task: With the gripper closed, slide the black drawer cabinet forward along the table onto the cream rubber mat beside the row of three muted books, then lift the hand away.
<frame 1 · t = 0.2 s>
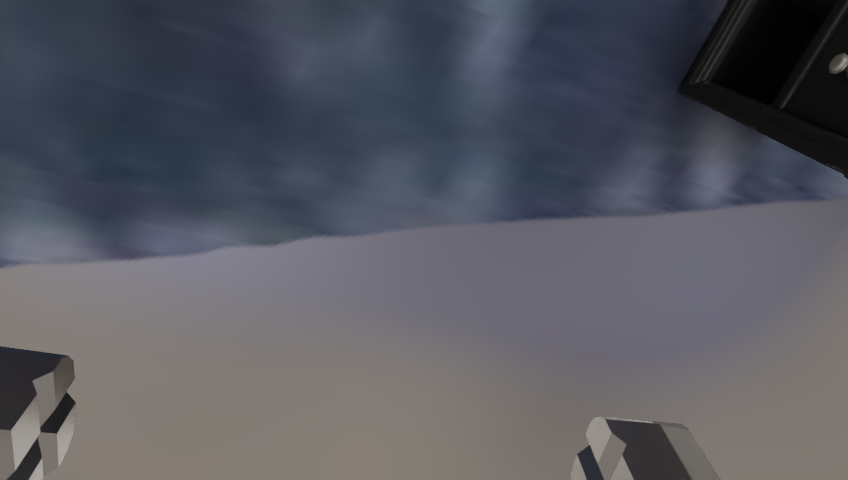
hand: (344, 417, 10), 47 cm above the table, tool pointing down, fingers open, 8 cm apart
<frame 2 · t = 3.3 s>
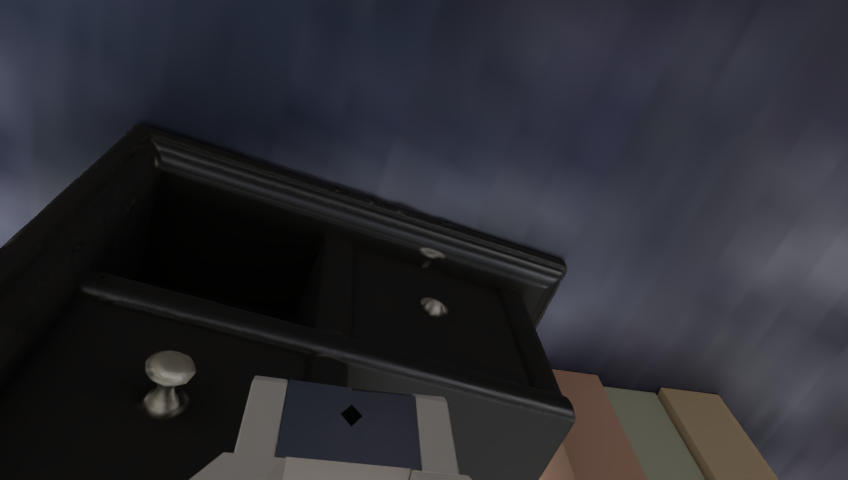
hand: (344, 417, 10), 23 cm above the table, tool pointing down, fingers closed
black drawer cabinet: (337, 276, 35), on the table, touching cream mat
book row: (600, 447, 42), on the table
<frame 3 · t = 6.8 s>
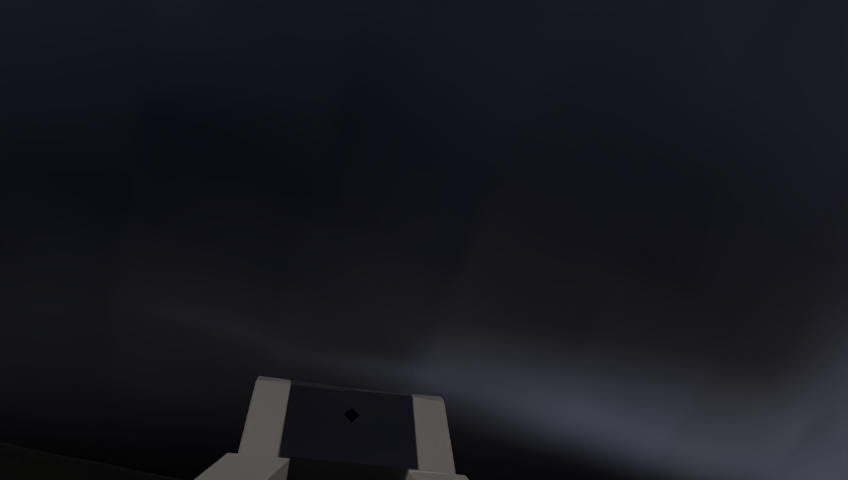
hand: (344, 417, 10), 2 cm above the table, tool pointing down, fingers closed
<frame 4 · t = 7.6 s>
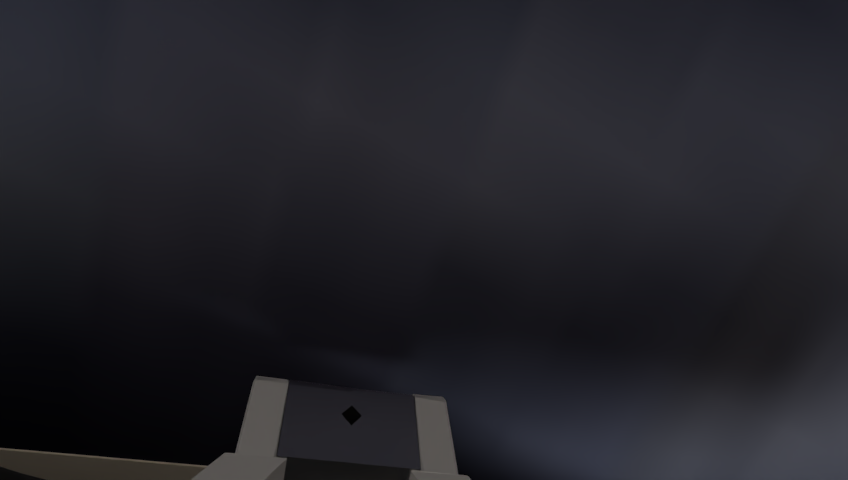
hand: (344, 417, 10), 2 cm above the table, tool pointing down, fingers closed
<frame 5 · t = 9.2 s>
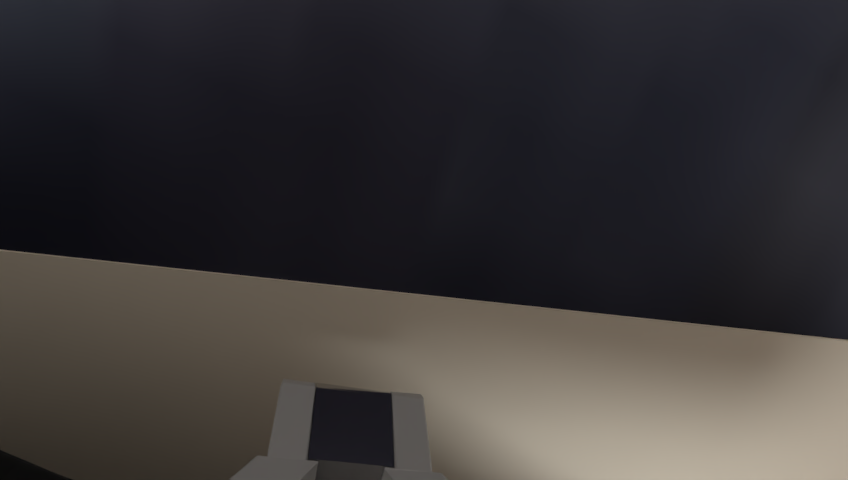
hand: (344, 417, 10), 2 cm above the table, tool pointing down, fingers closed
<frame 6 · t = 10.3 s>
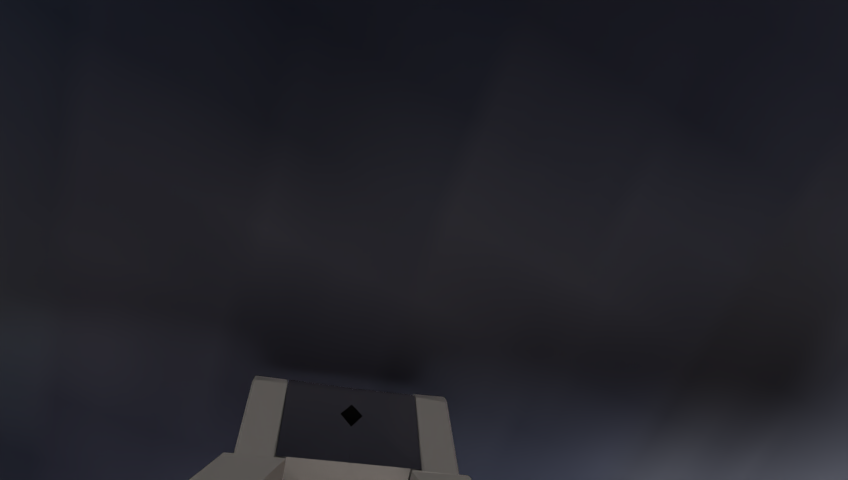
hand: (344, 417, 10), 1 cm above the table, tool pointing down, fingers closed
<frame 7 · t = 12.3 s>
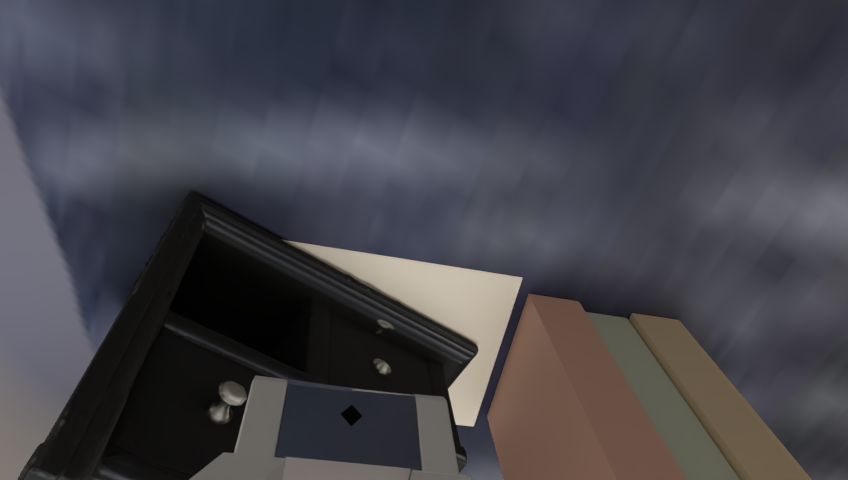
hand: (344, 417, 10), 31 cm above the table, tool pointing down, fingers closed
black drawer cabinet: (308, 325, 46), on the table, touching cream mat
book row: (581, 367, 50), on the table
cream mat: (340, 335, 46), on the table
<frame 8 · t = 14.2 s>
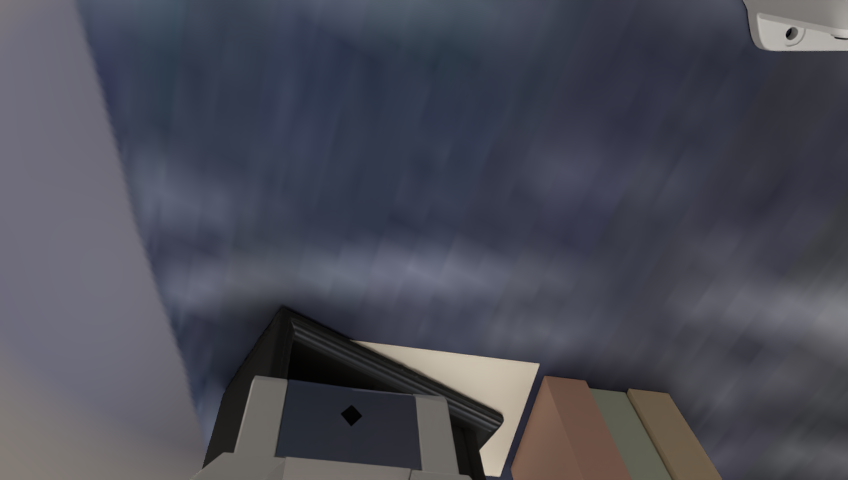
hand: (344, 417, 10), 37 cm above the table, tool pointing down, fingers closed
black drawer cabinet: (368, 401, 58), on the table, touching cream mat
book row: (588, 430, 61), on the table
cream mat: (393, 409, 58), on the table
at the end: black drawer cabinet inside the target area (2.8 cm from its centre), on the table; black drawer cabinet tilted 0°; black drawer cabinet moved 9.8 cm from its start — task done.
